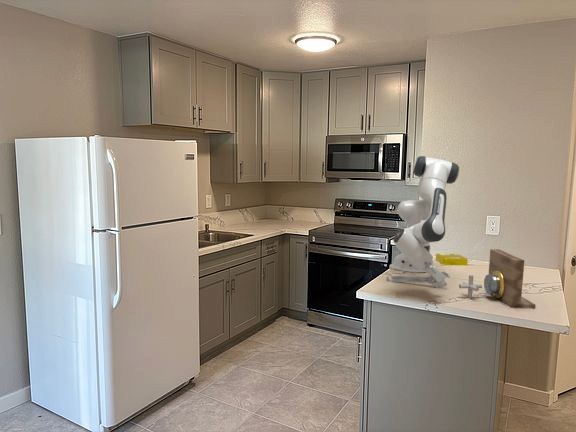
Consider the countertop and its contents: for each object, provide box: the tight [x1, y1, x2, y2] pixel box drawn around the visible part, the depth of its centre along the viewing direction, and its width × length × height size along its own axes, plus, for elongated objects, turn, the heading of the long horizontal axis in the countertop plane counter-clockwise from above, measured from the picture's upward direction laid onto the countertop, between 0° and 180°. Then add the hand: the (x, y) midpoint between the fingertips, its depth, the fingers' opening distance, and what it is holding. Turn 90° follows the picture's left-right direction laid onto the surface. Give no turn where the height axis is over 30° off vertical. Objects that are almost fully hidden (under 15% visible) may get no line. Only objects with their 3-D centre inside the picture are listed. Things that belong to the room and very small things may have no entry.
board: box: [487, 248, 536, 309], centre depth 193 cm, size 10×24×20 cm, turn 177°
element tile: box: [435, 252, 468, 266], centre depth 268 cm, size 15×15×5 cm
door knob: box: [483, 271, 505, 299], centre depth 194 cm, size 5×12×12 cm, turn 177°
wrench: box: [386, 270, 451, 289], centre depth 214 cm, size 8×2×30 cm
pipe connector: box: [458, 274, 483, 299], centre depth 195 cm, size 10×10×10 cm
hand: (443, 282), depth 194 cm, fingers closed
